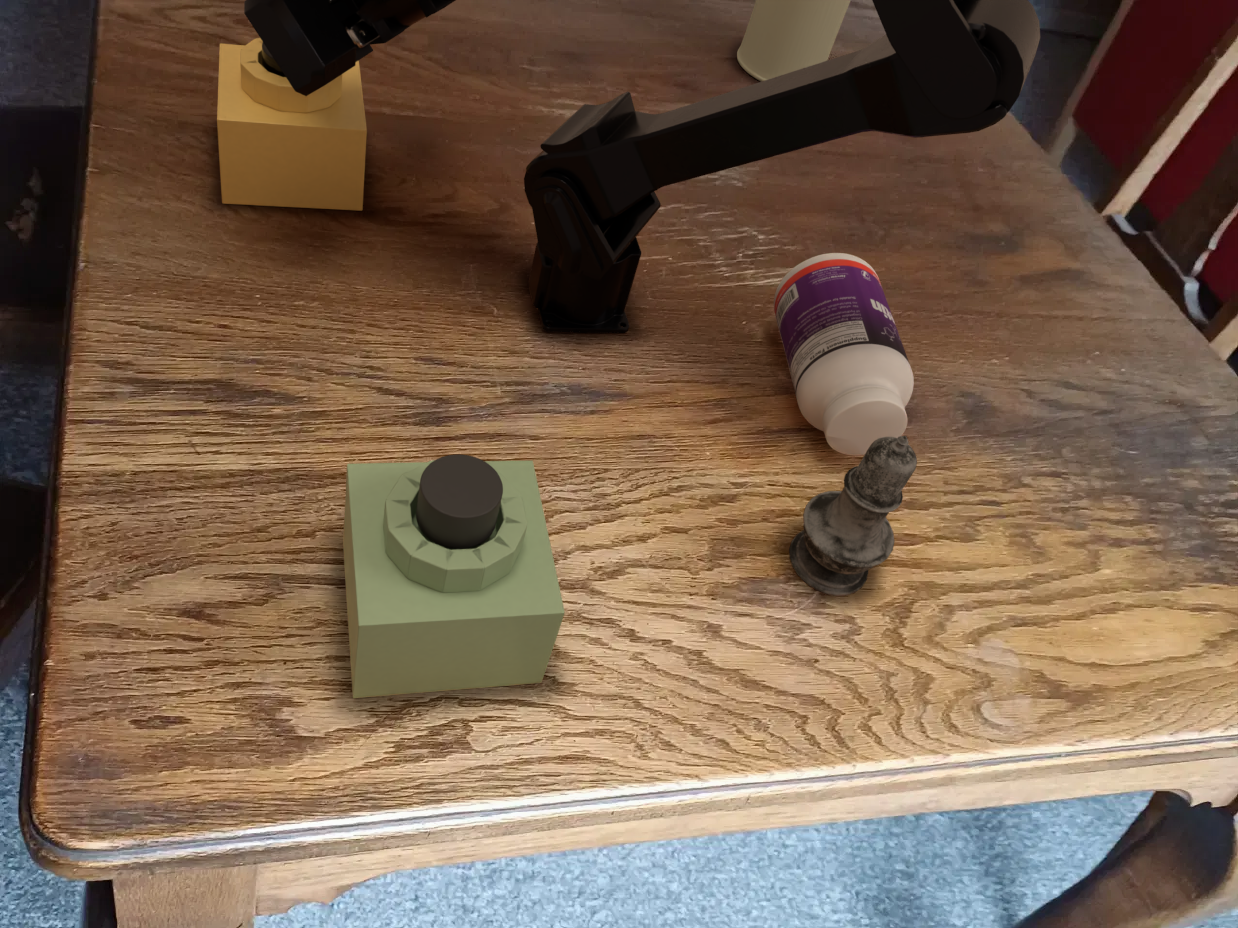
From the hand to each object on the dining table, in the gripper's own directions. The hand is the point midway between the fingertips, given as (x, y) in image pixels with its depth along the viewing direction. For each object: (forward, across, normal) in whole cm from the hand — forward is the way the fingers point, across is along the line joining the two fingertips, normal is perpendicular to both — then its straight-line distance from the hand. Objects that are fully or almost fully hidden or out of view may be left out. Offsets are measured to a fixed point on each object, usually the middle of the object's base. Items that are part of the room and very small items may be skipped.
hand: (291, 44), depth 76 cm
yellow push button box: (+7, 0, +7) cm, 10 cm away
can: (-11, -48, +25) cm, 55 cm away
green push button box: (-14, +29, +29) cm, 43 cm away
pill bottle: (-24, -10, +33) cm, 42 cm away
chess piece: (-27, +12, +42) cm, 51 cm away
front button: (-20, +29, +23) cm, 42 cm away
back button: (+2, 0, +2) cm, 3 cm away
